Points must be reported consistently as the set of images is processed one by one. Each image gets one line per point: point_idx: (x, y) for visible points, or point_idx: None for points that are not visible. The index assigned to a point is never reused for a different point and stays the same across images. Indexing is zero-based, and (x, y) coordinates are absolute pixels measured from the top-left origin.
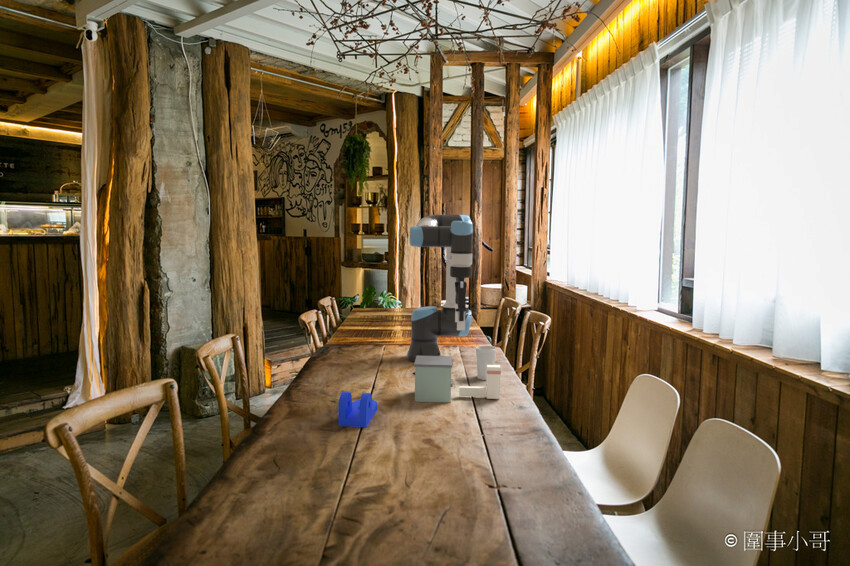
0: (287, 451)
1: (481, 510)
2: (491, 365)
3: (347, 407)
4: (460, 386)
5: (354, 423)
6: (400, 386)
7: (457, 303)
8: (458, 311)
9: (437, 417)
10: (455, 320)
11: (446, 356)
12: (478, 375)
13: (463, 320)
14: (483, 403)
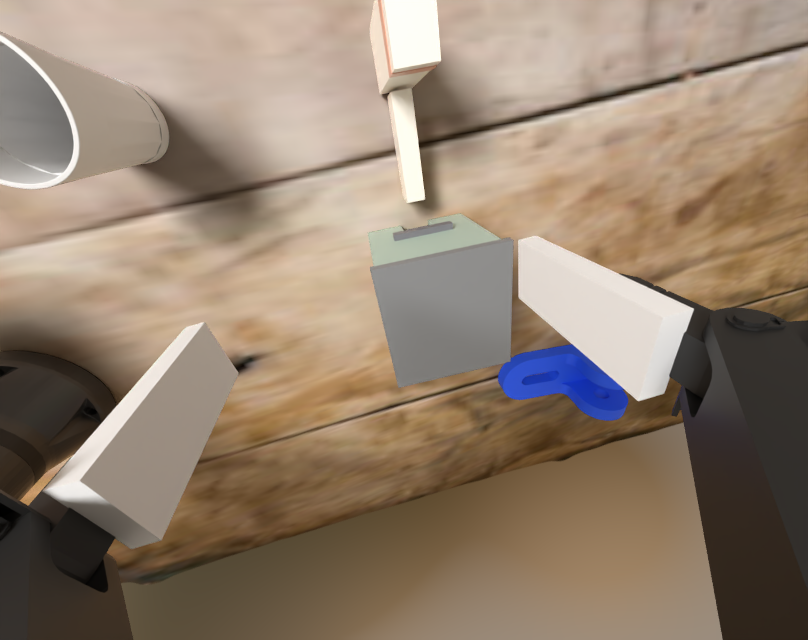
0: (672, 391)
1: None
2: (402, 34)
3: (606, 389)
4: (412, 198)
5: None
6: (365, 363)
7: (102, 549)
8: (666, 382)
9: (566, 224)
10: (233, 381)
11: (378, 292)
12: (155, 156)
13: (627, 276)
14: (450, 99)
